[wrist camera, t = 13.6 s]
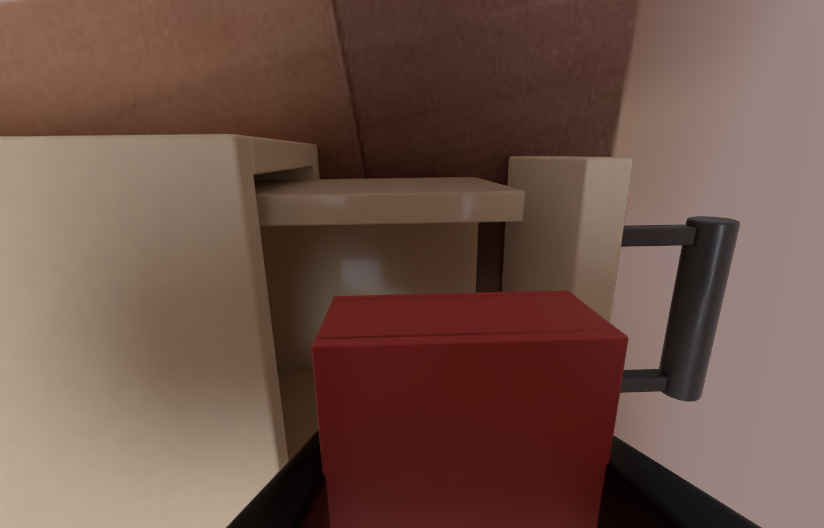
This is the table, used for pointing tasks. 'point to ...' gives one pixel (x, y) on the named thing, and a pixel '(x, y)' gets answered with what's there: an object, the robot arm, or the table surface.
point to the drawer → (457, 257)
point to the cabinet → (137, 329)
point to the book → (466, 409)
